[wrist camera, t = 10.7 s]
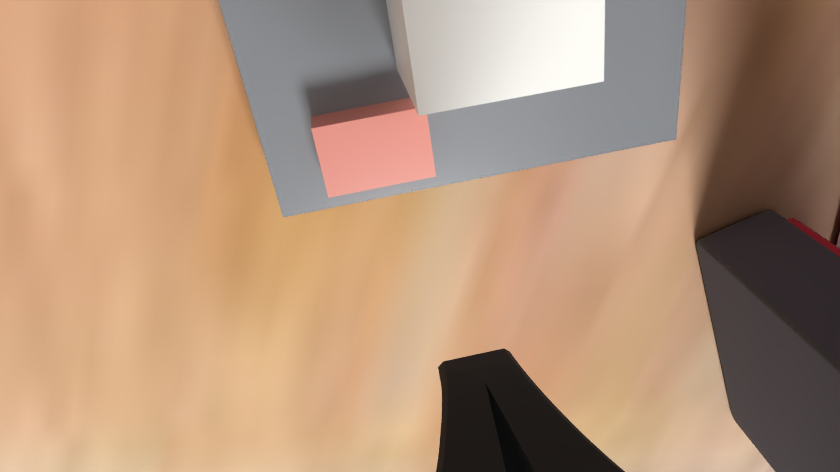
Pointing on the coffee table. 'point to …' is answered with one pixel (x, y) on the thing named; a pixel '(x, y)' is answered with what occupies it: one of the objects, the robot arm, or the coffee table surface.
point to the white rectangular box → (494, 49)
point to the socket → (438, 132)
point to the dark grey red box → (778, 336)
